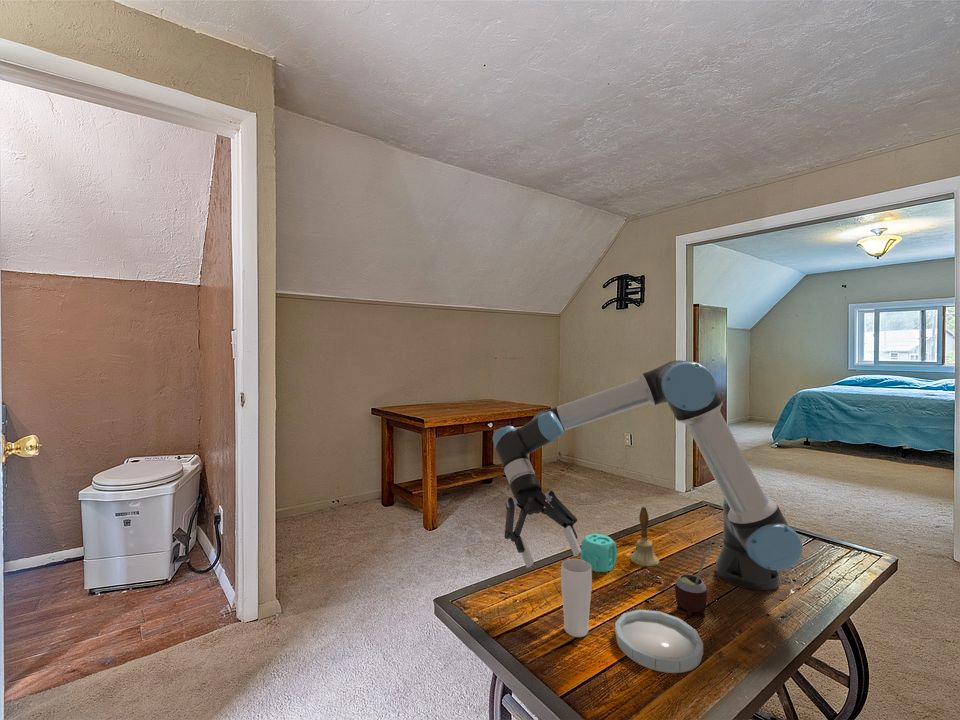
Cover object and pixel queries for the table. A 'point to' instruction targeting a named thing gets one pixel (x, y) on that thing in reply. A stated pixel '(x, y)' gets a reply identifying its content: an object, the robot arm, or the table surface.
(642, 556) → the hand bell
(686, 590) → the mate gourd
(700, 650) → the dish
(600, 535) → the decorative dice
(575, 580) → the drinking glass
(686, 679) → the table surface
